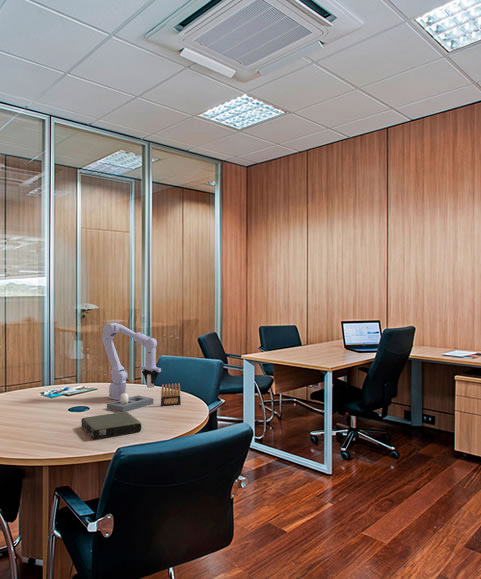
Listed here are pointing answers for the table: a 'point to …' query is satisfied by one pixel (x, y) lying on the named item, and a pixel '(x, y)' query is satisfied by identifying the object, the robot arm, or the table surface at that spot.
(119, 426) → the network switch
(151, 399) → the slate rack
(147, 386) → the white rounded egg shape
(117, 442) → the table surface
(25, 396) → the table surface
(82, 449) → the table surface
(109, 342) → the robot arm
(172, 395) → the ammunition clip
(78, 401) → the table surface
